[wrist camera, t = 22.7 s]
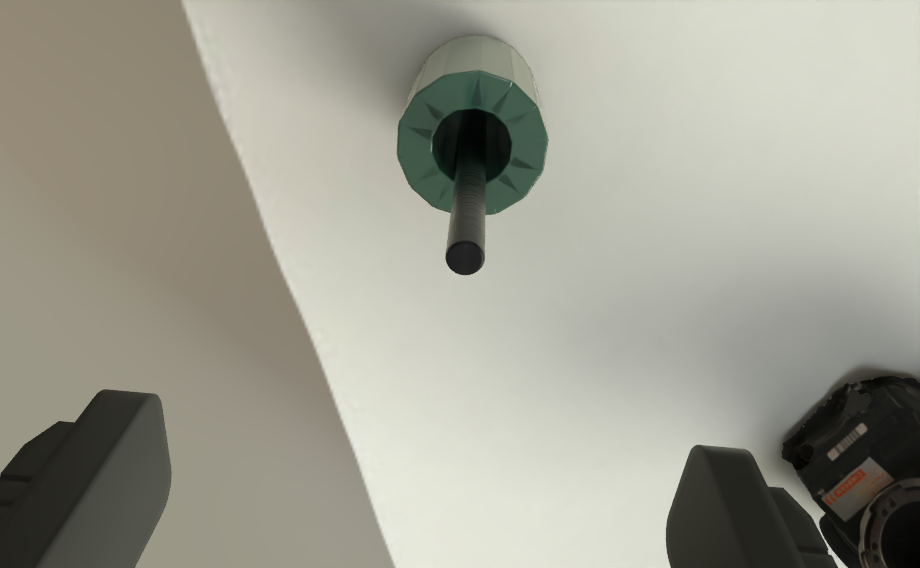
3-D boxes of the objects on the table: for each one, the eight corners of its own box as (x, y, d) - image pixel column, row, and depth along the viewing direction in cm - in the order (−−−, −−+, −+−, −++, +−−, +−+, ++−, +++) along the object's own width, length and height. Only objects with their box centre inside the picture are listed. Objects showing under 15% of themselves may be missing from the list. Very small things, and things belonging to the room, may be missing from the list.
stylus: (463, 112, 31) (443, 274, 18) (465, 90, 31) (446, 239, 18) (485, 115, 31) (482, 278, 18) (488, 92, 31) (487, 243, 18)
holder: (411, 150, 33) (393, 210, 27) (418, 27, 30) (400, 62, 24) (526, 162, 33) (535, 224, 27) (544, 39, 30) (558, 78, 24)
